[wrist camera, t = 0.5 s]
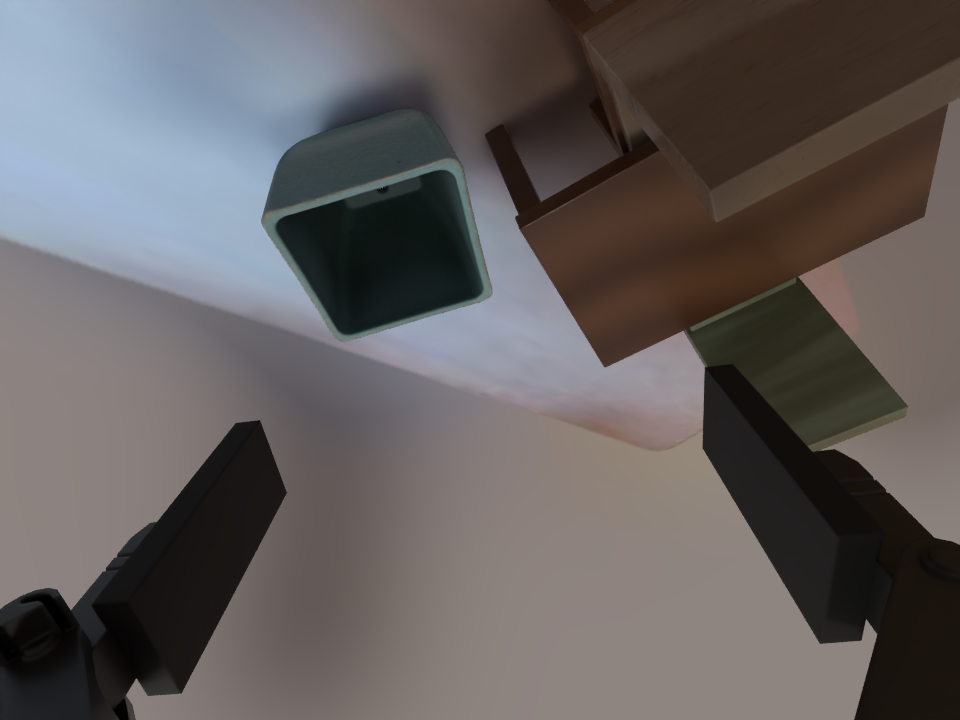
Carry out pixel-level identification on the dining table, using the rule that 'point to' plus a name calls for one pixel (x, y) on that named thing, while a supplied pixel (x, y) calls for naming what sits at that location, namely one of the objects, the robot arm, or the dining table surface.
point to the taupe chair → (763, 82)
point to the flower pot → (377, 224)
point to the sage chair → (800, 364)
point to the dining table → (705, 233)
